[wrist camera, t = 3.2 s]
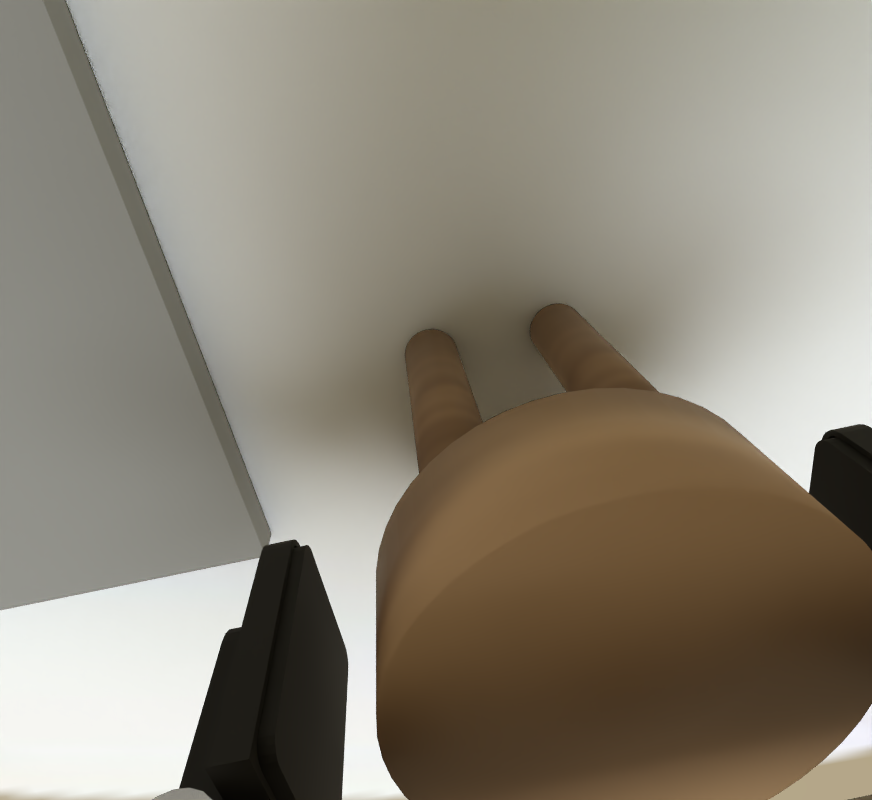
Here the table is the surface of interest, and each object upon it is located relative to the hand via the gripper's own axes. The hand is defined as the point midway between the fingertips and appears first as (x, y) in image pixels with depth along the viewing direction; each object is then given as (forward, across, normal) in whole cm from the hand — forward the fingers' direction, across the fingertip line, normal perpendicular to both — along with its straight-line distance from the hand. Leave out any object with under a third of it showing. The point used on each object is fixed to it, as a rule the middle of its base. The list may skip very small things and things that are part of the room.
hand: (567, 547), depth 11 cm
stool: (+6, 0, 0) cm, 6 cm away
